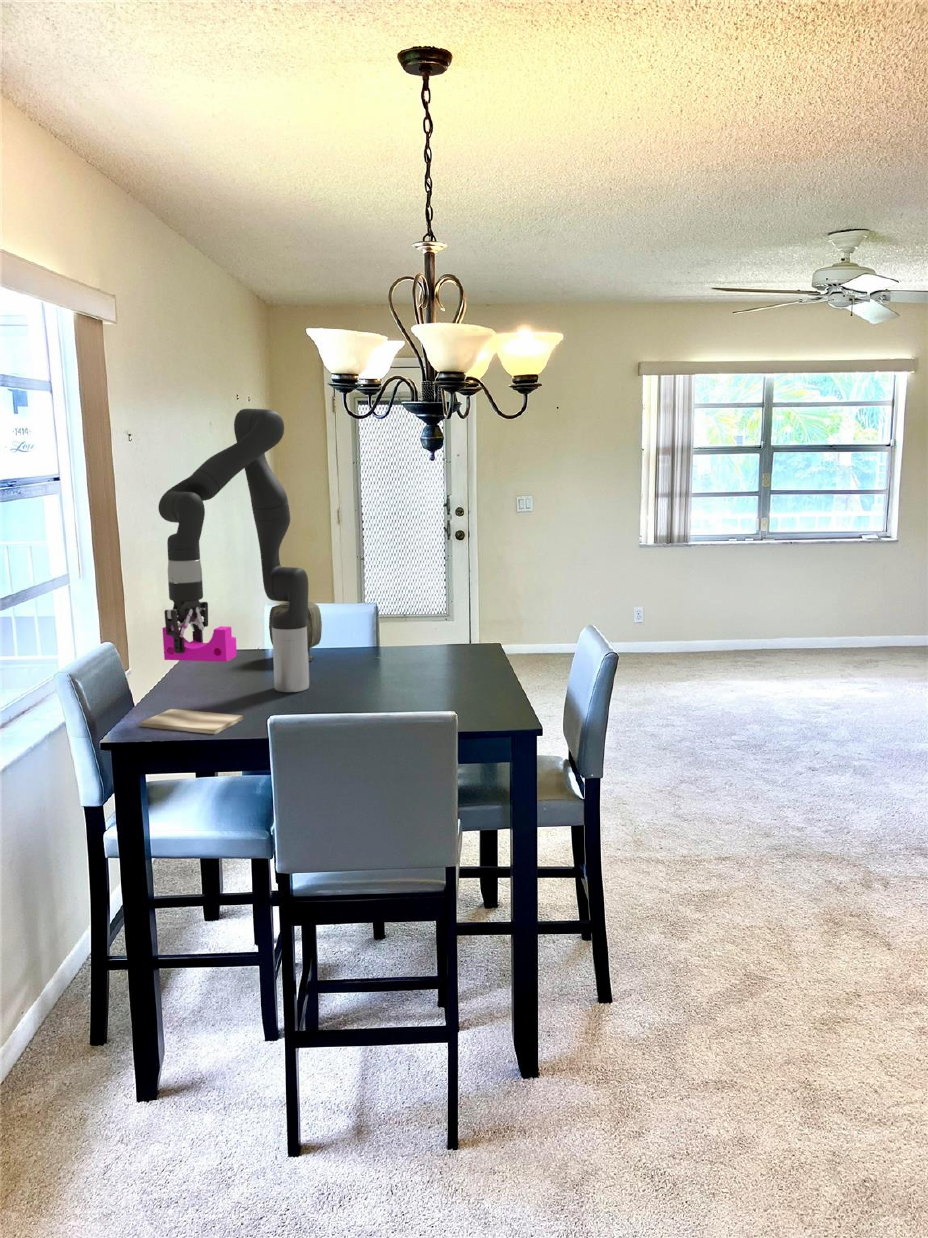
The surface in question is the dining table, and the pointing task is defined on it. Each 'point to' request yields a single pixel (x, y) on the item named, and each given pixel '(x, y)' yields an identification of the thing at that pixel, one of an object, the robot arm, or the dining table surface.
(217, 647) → the magenta cradle block
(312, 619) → the tabletop clock
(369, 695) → the dining table surface
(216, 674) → the dining table surface
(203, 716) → the oak board
